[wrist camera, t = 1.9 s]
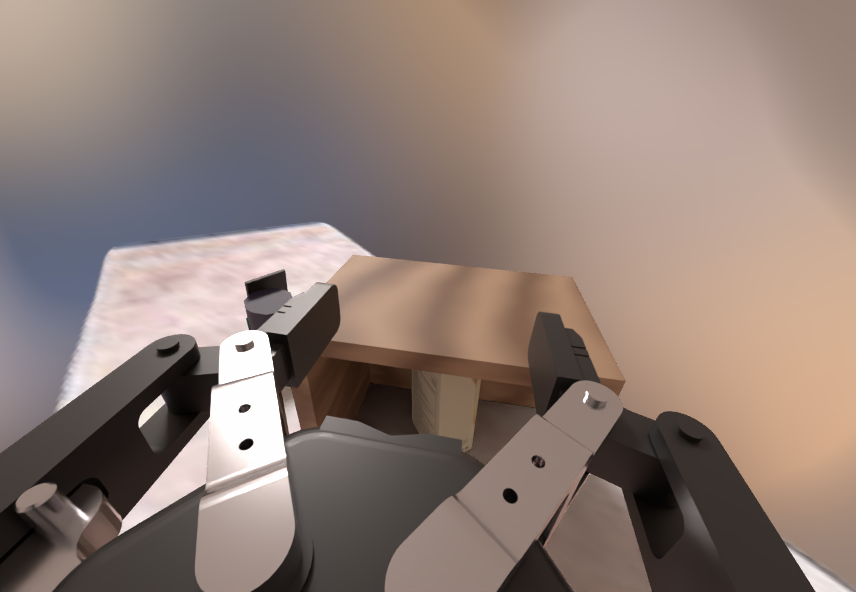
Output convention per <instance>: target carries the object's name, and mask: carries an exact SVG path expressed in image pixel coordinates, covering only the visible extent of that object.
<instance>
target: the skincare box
mask: <svg viewBox="0 0 856 592" xmlns="http://www.w3.org/2000/svg"><path fill="white" fill-rule="evenodd" d="M480 384H481V379H475V378H468V377H461V376H454V375H447V374H440V373H434V372H427V371H420V370H413V369H412V421H413V423H414V425H415V427H416V429H417V431H418V433H419V434H433V435H438V436H444V437H449V438H455V439H461V440H462V450H461V451H462V452H466V451H468V450H470V449H471V448H472V444H473V436H474V429H475V422H476V414H477V407H478V399H479V392H480Z"/></svg>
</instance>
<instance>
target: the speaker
mask: <svg viewBox="0 0 856 592" xmlns="http://www.w3.org/2000/svg"><path fill="white" fill-rule="evenodd" d="M245 286H246V291H247V296H248V297H247V298H246V299H245V300H244V303H245V308H246V312H247V318H246V320H247V324H248V328H249V331H257V330H258V329H259V328H260V327H261V326H262V325H263V324H264V323H265V322H266V321H267V320H268V319H270V318H271V317H272V316H273V315H274V314H275V313H276V312H278V310H279V309H280V308H281V307H284V305H285V304H286V303H287V302H288V301H289V300H290V299H291V298H292V296H291V293H290V292H288V290H287V282H286V273H285V270H284V269H283V270H280V271H277V272H274V273H271V274H268V275H265V276H262V277H259V278H256V279H253V280H250V281H247V282H245Z"/></svg>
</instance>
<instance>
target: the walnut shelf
mask: <svg viewBox="0 0 856 592" xmlns="http://www.w3.org/2000/svg"><path fill="white" fill-rule="evenodd" d="M327 284H334V285H336V286H337V288H338V295H339V306H340V316H341V320H340V326H339V329H338V331H337V333H336V334H335V335H334V337H333V338H332V340H331V341H330V343H329V344H328V345H327V347H326V348H325V350H324V351H323V353H322V354H321V355H320V357H319V358H318V360H317V361H316V363H315V364H314V365H313V367H312V368H311V370H310V371H309V373H308V374H307V376H306V377H305V378H304V380H303V381H302V383H301V384H300V386H299V387H298V388H295V387H291V389H292V393H293V398H294V402H295V406H296V410H297V414H298V418H299V423H300V427H301V430H303V429H307V428H312V427H319V426H321V425H322V423H323V421H324V420H325V418H326V416H332V417H337V418H343V419H348V420H354V419H355V417H356V415H357V413H358V410H359V408H360V406H361V403H362V401H363V399H364V397H365V394H366V392H367V390H368V387H369V385H370V383H376V384H382V385H389V386H395V387H402V388H409V389H412V369H413V370H420V371H427V372H434V373H440V374H447V375H454V376H461V377H468V378H475V379H481V384H480V392H479V399H481V400H488V401H494V402H501V403H508V404H514V405H521V406H527V407H534V408H535V401H534V395H533V389H532V383H531V376H530V370H529V364H528V347H529V342H530V338H531V335H532V331H533V327H534V323H535V319H536V316H537V313H538V312H539V311H540V312H548V313H556V314H560V316H561V319H562V321H563V324H564V327H565V328H570V329H573V330H574V331H575V332H576V333H577V334H579V335H580V336H581V337H582V339H583V341H584V344H585V346H586V350H587V351H588V353H589V358H591V360H592V363H593V365H594V368H595V370H596V372H597V375H598V377H599V380H600V382H601V384H602V385H604V386H606V387H607V388H609V389H610V390H612V391H613V392H614V393H615V394H616V395H617V396H619V394H620V392H621V390H622V388H623V385H624V383H625V379H624V377H623V375H622V373H621V371H620V369H619V367H618V365H617V363H616V361H615V359H614V357H613V355H612V354H611V352H610V350H609V348H608V346H607V344H606V342H605V340H604V338H603V336H602V334H601V332H600V330H599V328H598V327H597V324H596V323H595V320H594V319H593V317H592V315H591V313H590V311H589V309H588V307H587V305H586V303H585V301H584V299H583V297H582V295H581V293H580V292H579V289H578V287H577V286H576V283H575V282H574V280H573V278H572V277H565V276H555V275H546V274H535V273H525V272H516V271H507V270H497V269H487V268H477V267H467V266H458V265H448V264H437V263H429V262H418V261H409V260H399V259H388V258H380V257H370V256H360V255H353V256H352V257H351V258H350V259H349V260H348V261H347V262H346V263H345V264H344V265H343V266H342V267H341V268H340V269H339V270H338V271H337V272H336V273H335V274H334V275H333V277H332V278H331V279H330V280H329V281H328V282H327Z"/></svg>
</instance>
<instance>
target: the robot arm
mask: <svg viewBox="0 0 856 592" xmlns="http://www.w3.org/2000/svg"><path fill="white" fill-rule="evenodd" d="M340 320H341V316H340V306H339V295H338V288H337V286H336V285H334V284H327V283H319V282H317V283H315V284H314V285H313V286H312V287H311V288H310V289H309V290H308V291H307V292H306V293H304V292H303V293H301V294H299V295H297V296H295V297H293V298H291V299H290V300H289V301H288V302H287V303H286V304H285V305H284V307H281V308H280V309H279V310H278V312H276V313H275V314H274V315H273V316H272V317H271V318H270V319H268V320H267V321H266V322H265V323H264V324H263V325H262V326H261V327H260V328H259V329H258V330H257V331H245V332H240V333H237V334H235V335H233V336H231V337H229V338H228V339H226V340H225V341H224V342H223V343H222V344H221V346H213V347H198V346H197V343H196V341H195V338H194V337H192V336H190V335H185V334H179V335H172V336H168V337H164V338H161V339H159V340H157V341H155V342H153V343H151V344H150V345H148V346H147V347H145V348H144V349H143V350H141V351H140V352H138V353H137V354H136V355H134V356H133V357H132V358H130V359H129V360H128V361H126V362H125V363H123V364H122V365H121V366H119V367H118V368H117V369H115V370H114V371H112V372H111V373H110V374H108V375H107V376H106V377H104V378H103V379H102V380H100V381H99V382H97V383H96V384H95V385H93V386H92V387H91V388H89V389H88V390H86V391H85V392H84V393H82V394H81V395H80V396H78V397H77V398H76V399H74V400H73V401H71V402H70V403H69V404H67V405H66V406H65V407H63V408H62V409H60V410H59V411H58V412H56V413H55V414H54V415H52V416H51V417H49V418H48V419H47V420H45V421H44V422H43V423H41V424H40V425H39V426H37V427H36V428H34V429H33V430H32V431H30V432H29V433H28V434H26V435H25V436H23V437H22V438H21V439H19V440H18V441H17V442H15V443H14V444H13V445H11V446H10V447H8V448H7V449H6V450H5V451H3V452H2V453H0V592H574V591H573V590H572V588H571V587H570V585H569V584H568V582H567V581H566V579H565V578H564V576H563V575H562V574H561V572H560V571H559V569H558V568H557V566H556V565H555V563H554V562H553V560H552V559H551V557H550V556H549V554H548V553H547V551H546V550H545V546H546V544H547V543H548V541H549V540H550V538H551V536H552V535H553V533H554V531H555V529H556V528H557V526H558V524H559V522H560V521H561V519H562V517H563V516H564V514H565V512H566V511H567V509H568V508H569V506H570V505H571V503H572V501H573V500H574V498H575V497H576V495H577V494H578V492H579V490H580V489H581V487H582V486H583V484H584V483H585V481H586V480H587V478H588V476H589V475H590V473H591V474H593V475H595V476H597V477H600V478H602V479H604V480H606V481H608V482H610V483H612V484H614V485H617V486H619V487H621V488H622V491H623V494H624V498H625V501H626V505H627V508H628V511H629V515H630V518H631V521H632V525H633V528H634V532H635V535H636V538H637V542H638V545H639V549H640V552H641V555H642V559H643V562H644V565H645V569H646V572H647V576H648V579H649V582H650V586H651V589H652V592H815V590H814V589H813V587H812V585H811V584H810V582H809V581H808V579H807V578H806V576H805V574H804V573H803V571H802V570H801V568H800V567H799V565H798V563H797V562H796V560H795V559H794V557H793V556H792V554H791V553H790V551H789V549H788V548H787V546H786V545H785V543H784V542H783V540H782V538H781V537H780V535H779V534H778V532H777V531H776V529H775V527H774V526H773V524H772V523H771V521H770V520H769V518H768V516H767V515H766V514H765V512H764V510H763V509H762V507H761V506H760V504H759V502H758V501H757V499H756V498H755V496H754V495H753V493H752V492H751V490H750V488H749V487H748V485H747V484H746V482H745V481H744V479H743V477H742V476H741V474H740V473H739V471H738V470H737V468H736V466H735V465H734V463H733V462H732V460H731V459H730V457H729V455H728V454H727V452H726V451H725V449H724V448H723V446H722V444H721V443H720V441H719V440H718V438H717V437H716V436H715V435H714V433H713V432H712V431H711V430H710V429H708V428H707V427H706V426H705V425H703V424H702V423H700V422H699V421H697V420H696V419H694V418H692V417H690V416H687V415H685V414H681V413H678V412H672V411H671V412H670V411H667V412H663V413H661V414H660V415H659V416H658V418H657V419H656V421H655V420H652V419H650V418H647V417H644V416H642V415H639V414H637V413H634V412H632V411H629V410H627V409H625V408H623V404H622V402H621V400H620V399H619V397H618V396H617V395H616V394H615V393H614V392H613V391H612V390H610V389H609V388H607V387H606V386H604V385H602V384H601V382H600V380H599V377H598V375H597V372H596V370H595V368H594V365H593V363H592V360H591V358H589V353H588V351H587V350H586V346H585V344H584V341H583V339H582V337H581V336H580V335H579V334H577V333H576V332H575V331H574V330H573V329H570V328H565V327H564V324H563V321H562V319H561V316H560V314H556V313H548V312H540V311H539V312H538V313H537V316H536V319H535V323H534V327H533V331H532V335H531V338H530V342H529V347H528V364H529V370H530V376H531V383H532V389H533V395H534V401H535V408H536V415H534V416H533V417H532V418H531V419H530V420H529V421H528V422H527V423H526V424H525V425H524V426H523V427H522V428H521V429H520V430H519V432H518V433H517V434H516V435H515V436H514V437H513V438H512V439H511V440H510V441H509V442H508V443H507V444H506V445H505V446H504V447H503V448H502V449H501V450H500V451H499V452H498V453H497V454H496V455H495V456H494V457H493V458H492V459H491V460H490V461H489V462H488V463H487V464H486V465H485V466H484V465H483V464H482V463H481V462H479V461H478V460H477V459H475V458H474V457H472V456H470V455H468V454H466V453H464V452H462V451H461V450H462V440H461V439H455V438H449V437H444V436H438V435H433V434H411V435H388V434H386V433H384V432H381V431H379V430H377V429H375V428H372V427H370V426H368V425H366V424H364V423H361V422H359V421H354V420H348V419H343V418H337V417H332V416H326V418H325V420H324V421H323V423H322V425H321V426H319V427H312V428H307V429H303V430H300V431H297V432H294V433H292V434H289V431H288V425H287V420H286V414H285V409H284V403H283V398H282V393H281V391H282V389H283V388H284V387H285V386H289V387H295V388H298V387H299V386H300V384H301V383H302V381H303V380H304V378H305V377H306V376H307V374H308V373H309V371H310V370H311V368H312V367H313V365H314V364H315V363H316V361H317V360H318V358H319V357H320V355H321V354H322V353H323V351H324V350H325V348H326V347H327V345H328V344H329V343H330V341H331V340H332V338H333V337H334V335H335V334H336V333H337V331H338V329H339V326H340ZM160 395H162V397H163V399H164V401H165V404H164V405H163V406H162V407H161V408H160V409H159V410H158V411H157V412H156V413H155V414H154V415H153V416H152V417H151V418H150V419H149V420H148V421H147V422H146V423H144V424H143V425H142V426H141V427H140V428H139V426H138V421H139V417H140V415H141V414H142V412H143V411H144V410H145V409H146V408H147V407H148V406H149V405H150V404H151V403H152V402H153V401H154V400H155V399H156V398H157V397H159V396H160ZM209 417H210V425H209V442H208V459H207V476H206V484H204V485H203V486H201V487H199V488H198V489H196V490H194V491H193V492H191V493H189V494H188V495H186V496H184V497H183V498H181V499H179V500H178V501H176V502H174V503H173V504H171V505H169V506H168V507H166V508H164V509H163V510H161V511H159V512H158V513H156V514H154V515H152V516H151V517H149V518H147V519H146V520H144V521H142V522H141V523H139V524H137V525H136V526H134V527H132V528H131V529H129V530H127V531H126V532H124V533H122V534H121V535H119V533H120V530H121V527H122V520H123V519H124V518H125V517H126V516H127V514H128V513H129V512H130V511H131V510H132V509H133V507H134V506H135V505H136V504H137V503H138V501H139V500H140V499H141V498H142V497H143V496H144V494H145V493H146V492H147V491H148V490H149V488H150V487H151V486H152V485H153V484H154V482H155V481H156V480H157V479H158V478H159V477H160V475H161V474H162V473H163V472H164V471H165V469H166V468H167V467H168V466H169V465H170V463H171V462H172V461H173V460H174V459H175V458H176V456H177V455H178V454H179V453H180V452H181V450H182V449H183V448H184V447H185V446H186V445H187V443H188V442H189V441H190V440H191V439H192V437H193V436H194V435H195V434H196V433H197V431H198V430H199V429H200V428H201V427H202V426H203V424H204V423H205V422H206V421H207V420H208V418H209ZM118 535H119V536H118Z"/></svg>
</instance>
